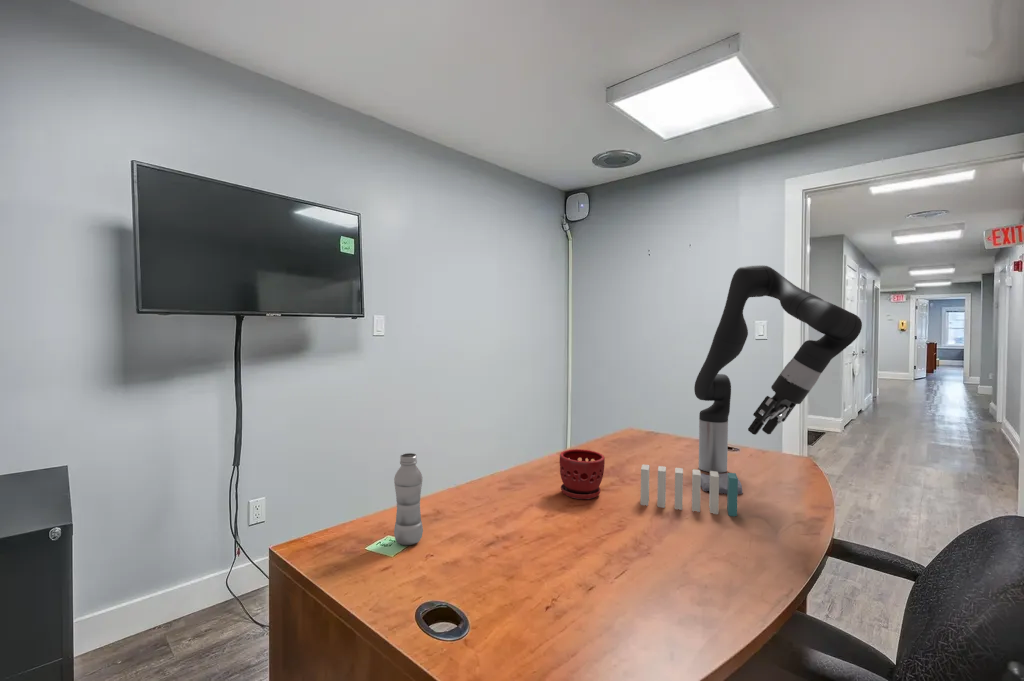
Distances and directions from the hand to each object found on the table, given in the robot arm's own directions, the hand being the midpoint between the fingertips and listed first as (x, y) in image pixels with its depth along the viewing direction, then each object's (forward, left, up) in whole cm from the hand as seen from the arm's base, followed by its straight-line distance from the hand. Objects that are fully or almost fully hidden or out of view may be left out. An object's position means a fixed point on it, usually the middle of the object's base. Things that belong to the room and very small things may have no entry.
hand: (758, 432), depth 126 cm
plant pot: (-2, -46, -23) cm, 51 cm away
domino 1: (-2, -28, -22) cm, 36 cm away
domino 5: (-2, -10, -22) cm, 25 cm away
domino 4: (-2, -15, -22) cm, 27 cm away
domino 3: (-2, -19, -22) cm, 30 cm away
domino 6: (-2, -6, -22) cm, 23 cm away
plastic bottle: (+43, -77, -23) cm, 92 cm away
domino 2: (-2, -24, -22) cm, 33 cm away
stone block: (-21, -7, -23) cm, 32 cm away
